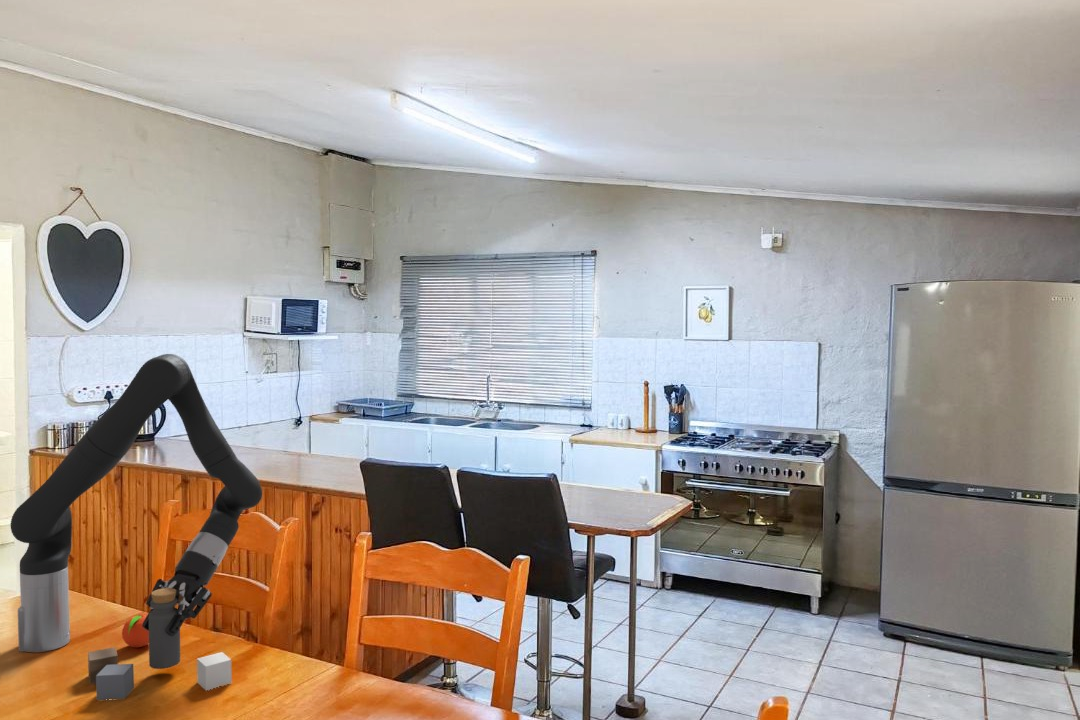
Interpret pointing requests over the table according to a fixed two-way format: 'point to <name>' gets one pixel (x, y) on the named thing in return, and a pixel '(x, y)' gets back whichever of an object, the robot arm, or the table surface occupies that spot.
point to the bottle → (163, 630)
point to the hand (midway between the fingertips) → (157, 631)
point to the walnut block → (100, 661)
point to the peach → (135, 632)
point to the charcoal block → (115, 681)
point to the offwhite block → (214, 671)
